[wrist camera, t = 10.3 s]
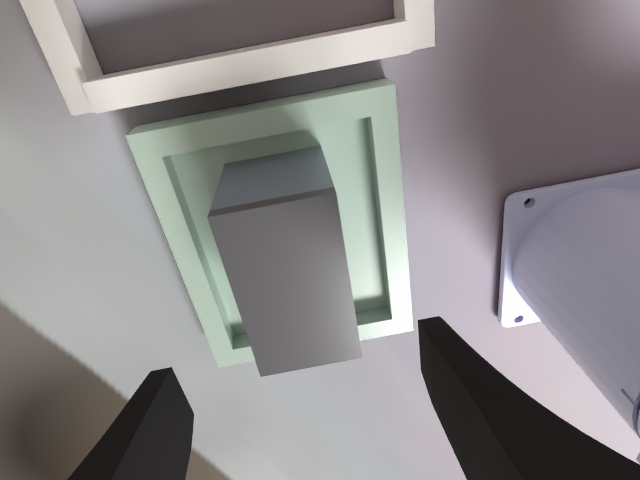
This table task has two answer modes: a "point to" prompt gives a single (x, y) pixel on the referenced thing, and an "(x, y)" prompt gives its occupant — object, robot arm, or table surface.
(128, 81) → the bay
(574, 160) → the table surface
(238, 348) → the tray
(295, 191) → the grey rectangular block
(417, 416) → the table surface
